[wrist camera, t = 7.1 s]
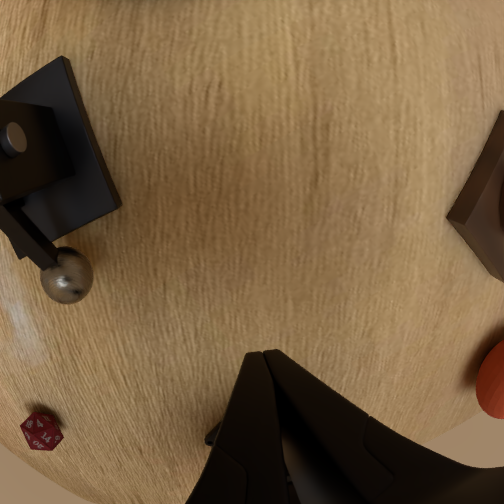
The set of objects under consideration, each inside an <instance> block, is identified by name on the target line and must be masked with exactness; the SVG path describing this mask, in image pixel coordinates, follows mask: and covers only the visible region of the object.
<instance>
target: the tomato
mask: <svg viewBox="0 0 504 504" xmlns="http://www.w3.org/2000/svg"><path fill="white" fill-rule="evenodd" d="M476 396H477V399H478V402H479V405H480V406H481V408H482V409H483V411H485V412H486V413H487V414H488V415H490V416H492V417H494V418H498V419H504V340H503V341H501V342H499V343H498V344H497V345H496V346H495V347H493V349H492V350H491V351H490V352H489V353H488V355H487V356H486V357H485V359H484V361H483V363H482V364H481V366H480V369H479V373H478V376H477V379H476Z"/></svg>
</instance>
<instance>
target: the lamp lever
mask: <svg viewBox="0 0 504 504" xmlns="http://www.w3.org/2000/svg"><path fill="white" fill-rule="evenodd" d="M0 229H1V230H2V231H3V232H4V233H5V234H6V235H7V237H8V238H9V239H10V240H11V241H12V242H13V243H14V244H15V245H16V246H17V247H18V248H19V249H20V250H21V251H22V252H23V253H24V254H25V255H26V256H28V257H29V258H30V259H31V260H32V261H33V262H34V263H35V264H36V265H37V266H38V267H39V268H40V281H41V285H42V287H43V289H44V291H45V293H46V294H47V295H48V296H49V297H50V298H51V299H52V300H54V301H55V302H57V303H60V304H74V303H77V302H79V301H81V300H82V299H83V298H85V296H86V295H87V294H88V293H89V291H90V289H91V287H92V283H93V269H92V265H91V263H90V261H89V259H88V258H87V256H86V255H85V254H84V253H83V252H81V251H80V250H78V249H76V248H74V247H69V246H63V247H59V248H56V247H55V246H54V244H53V243H52V242H51V241H50V240H49V239H48V238H47V237H46V236H45V235H44V234H43V233H42V232H41V230H40V229H39V228H38V227H37V226H36V225H35V224H34V223H33V222H32V220H31V219H30V218H29V217H28V216H27V215H26V214H25V212H24V211H23V210H22V209H21V208H20V207H19V205H18V204H17V203H16V202H15V201H11V202H9V203H7V204H4V205H2V206H0Z"/></svg>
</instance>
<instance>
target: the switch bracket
mask: <svg viewBox="0 0 504 504" xmlns="http://www.w3.org/2000/svg"><path fill="white" fill-rule="evenodd" d="M11 201H15V202H16V203H17V204H18V205H19V207H20V208H21V209H22V210H23V211H24V212H25V214H26V215H27V216H28V217H29V218H30V219H31V220H32V222H33V223H34V224H35V225H36V226H37V227H38V228H39V229H40V230H41V232H42V233H43V234H44V235H45V236H46V237H47V238H48V239H49V240H50V241H51V242H53V241H55V240H57V239H58V238H60V237H62V236H64V235H66V234H68V233H70V232H72V231H74V230H76V229H77V228H79V227H81V226H83V225H85V224H87V223H89V222H91V221H93V220H95V219H97V218H99V217H101V216H103V215H105V214H108V213H110V212H112V211H114V210H116V209H118V208H119V207H120V206H121V205H122V202H121V200H120V198H119V195H118V193H117V191H116V188H115V186H114V184H113V181H112V179H111V176H110V174H109V172H108V169H107V167H106V164H105V162H104V159H103V157H102V154H101V151H100V149H99V146H98V144H97V141H96V138H95V136H94V133H93V130H92V128H91V125H90V122H89V119H88V117H87V114H86V111H85V108H84V105H83V102H82V99H81V96H80V93H79V90H78V87H77V84H76V81H75V78H74V75H73V71H72V68H71V65H70V61H69V59H67V58H65V57H64V56H60V57H58V58H56V59H55V60H53V61H52V62H50V63H48V64H47V65H45V66H44V67H42V68H41V69H39V70H38V71H36V72H35V73H33V74H32V75H30V76H29V77H27V78H26V79H25V80H23V81H22V82H20V83H19V84H18V85H16V86H15V87H14V88H12V89H11V90H10V91H8V92H7V93H6V94H4V95H3V96H2V97H1V98H0V206H2V205H4V204H7V203H9V202H11ZM9 240H10V239H9ZM10 242H11V244H12V246H13V248H14V251H15V253H16V255H17V257H18V259H19V260H21V259H22V258H24V257H26V255H25V254H24V253H23V252H22V251H21V250H20V249H19V248H18V247H17V246H16V245H15V244H14V243H13V242H12V241H11V240H10Z"/></svg>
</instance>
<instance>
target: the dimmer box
mask: <svg viewBox="0 0 504 504" xmlns="http://www.w3.org/2000/svg"><path fill="white" fill-rule="evenodd" d="M447 219H448V220H449V221H450V223H451V224H452V225H453V226H454V227H455V229H456V230H457V231H458V232H459V233H460V235H461V236H462V237H463V238H464V240H465V241H466V242H467V243H468V245H469V246H470V247H471V249H472V250H473V251H474V252H475V254H476V255H477V256H478V258H479V259H480V260H481V262H482V263H483V265H484V266H485V267H486V269H487V270H488V271H489V273H490V274H491V275H492V276H493V277H495V278H497V279H498V280H500V281H502V282H503V283H504V111H503V110H501V112H500V115H499V117H498V119H497V122H496V124H495V126H494V128H493V131H492V133H491V135H490V137H489V139H488V141H487V143H486V146H485V148H484V150H483V152H482V154H481V156H480V158H479V160H478V162H477V164H476V166H475V168H474V170H473V171H472V173H471V175H470V177H469V179H468V181H467V183H466V185H465V186H464V188H463V190H462V192H461V194H460V195H459V197H458V199H457V201H456V202H455V204H454V206H453V208H452V209H451V211H450V213H449V214H448V216H447Z"/></svg>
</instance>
